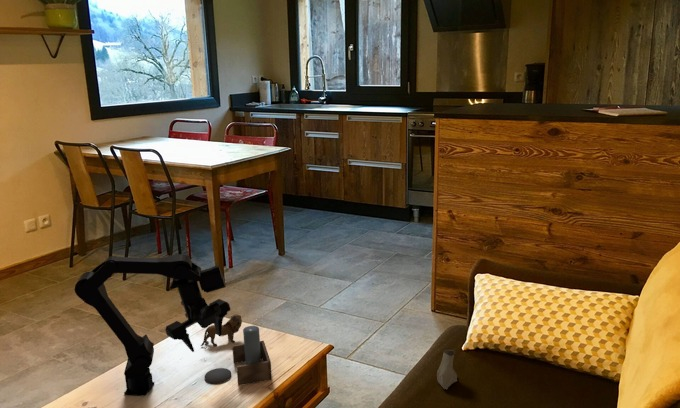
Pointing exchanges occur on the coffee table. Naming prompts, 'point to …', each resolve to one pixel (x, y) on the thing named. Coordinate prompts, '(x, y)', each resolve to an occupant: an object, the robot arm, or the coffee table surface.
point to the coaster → (217, 375)
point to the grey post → (252, 344)
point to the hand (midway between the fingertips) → (206, 343)
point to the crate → (252, 366)
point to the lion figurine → (224, 330)
